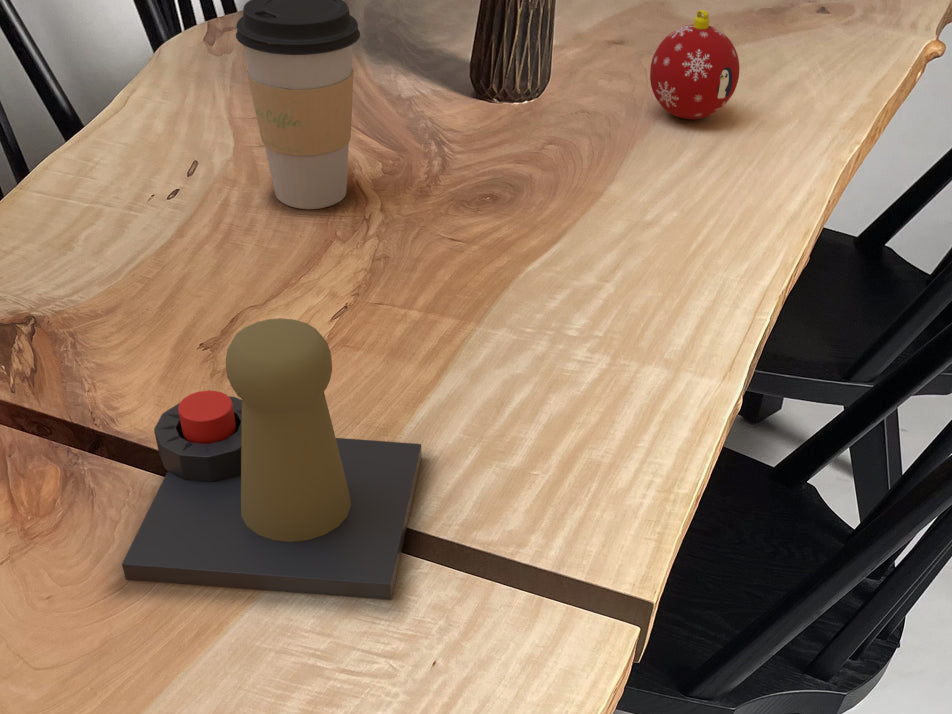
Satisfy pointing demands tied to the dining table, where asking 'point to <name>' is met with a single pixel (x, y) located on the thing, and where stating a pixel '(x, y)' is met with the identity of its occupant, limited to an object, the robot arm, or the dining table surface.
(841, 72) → the dining table surface
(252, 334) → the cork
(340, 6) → the coffee cup
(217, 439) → the scale button
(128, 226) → the dining table surface
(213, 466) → the dark grey button base
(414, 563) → the dining table surface
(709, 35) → the christmas ornament
